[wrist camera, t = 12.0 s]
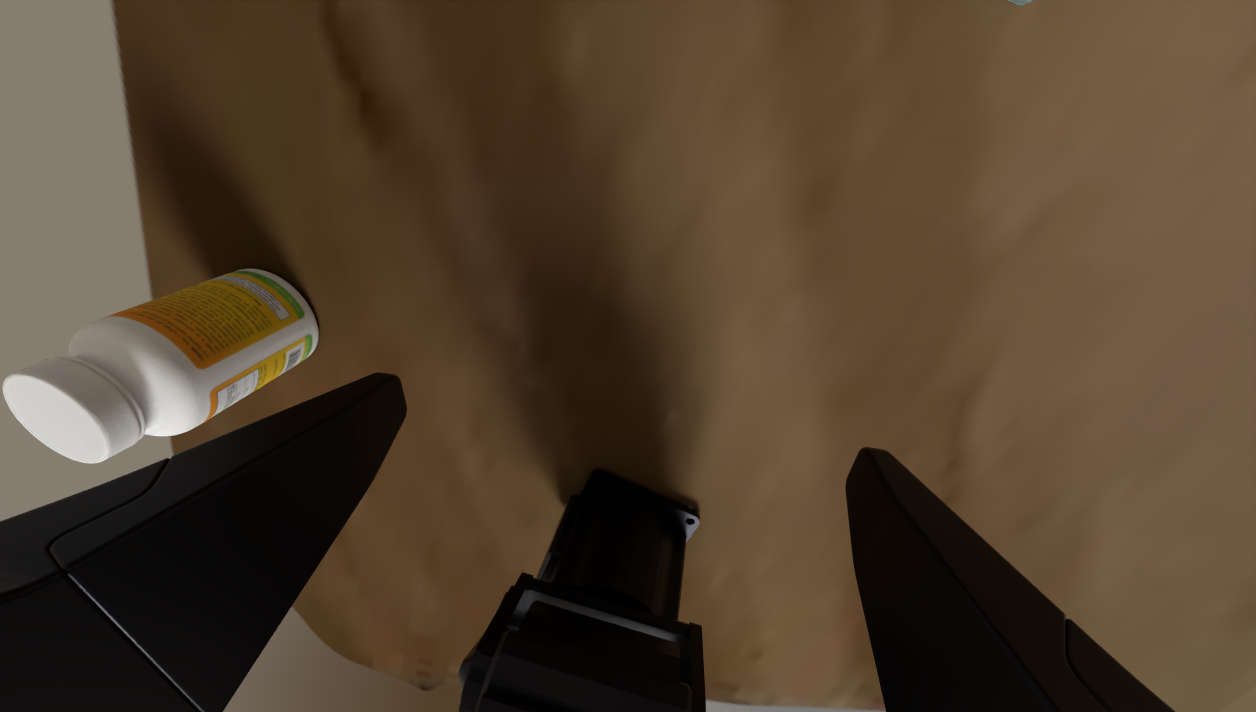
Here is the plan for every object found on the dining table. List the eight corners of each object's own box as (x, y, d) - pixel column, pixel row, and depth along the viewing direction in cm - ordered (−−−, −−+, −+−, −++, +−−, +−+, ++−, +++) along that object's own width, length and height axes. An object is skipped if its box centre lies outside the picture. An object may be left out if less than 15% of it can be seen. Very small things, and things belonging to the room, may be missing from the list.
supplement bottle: (212, 262, 25) (-53, 346, 16) (304, 270, 24) (74, 364, 16) (250, 354, 27) (36, 468, 19) (334, 364, 27) (150, 488, 18)
